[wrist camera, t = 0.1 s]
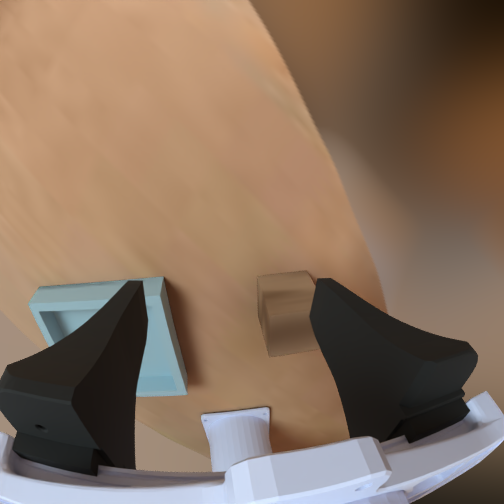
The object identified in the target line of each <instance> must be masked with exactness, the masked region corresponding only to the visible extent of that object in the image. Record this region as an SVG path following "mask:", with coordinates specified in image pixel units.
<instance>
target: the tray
mask: <svg viewBox="0 0 504 504" xmlns="http://www.w3.org/2000/svg"><path fill="white" fill-rule="evenodd" d="M131 280H143V286H144V294H145V301H146V308H147V314H148V331H147V341H146V346H145V351H144V355H143V360H142V365H141V369H140V374H139V379H138V384H137V391H136V397H144V396H175V395H187V372H186V369H185V365H184V361H183V358H182V354H181V350H180V346H179V342H178V338H177V334H176V330H175V326H174V322H173V318H172V314H171V309H170V305H169V301H168V296H167V291H166V287H165V282H164V277H153V278H142V279H131ZM127 281H128V280H119V281H107V282H95V283H83V284H70V285H57V286H43V287H39V288H38V290H37V291H36V292H35V294H34V295H33V297H32V298H31V300H30V301H29V303H28V305H29V307H30V309H31V311H32V314H33V316H34V318H35V320H36V322H37V324H38V326H39V328H40V330H41V332H42V334H43V336H44V338H45V340H46V342H47V343H48V345H49V347H50V346H52V345H54V344H55V343H57V342H58V341H60V340H61V339H63V338H65V337H66V336H68V335H69V334H71V333H72V332H74V331H75V330H76V329H78V328H79V327H80V326H81V325H83V324H84V323H85V322H86V321H88V320H89V319H90V318H91V317H92V316H93V315H94V314H95V313H96V312H97V311H99V310H100V309H101V308H102V307H103V306H104V305H105V304H106V303H107V302H108V301H109V300H110V299H111V298H112V297H113V296H114V295H115V294H116V293H117V291H118V290H119V289H120V288H121V287H122V286H123V285H124V284H125V283H126V282H127Z"/></svg>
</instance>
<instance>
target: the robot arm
mask: <svg viewBox="0 0 504 504" xmlns="http://www.w3.org/2000/svg"><path fill="white" fill-rule="evenodd" d="M309 318H310V322H311V325H312V329H313V332H314V335H315V338H316V340H317V342H318V344H319V347H320V349H321V351H322V353H323V355H324V357H325V360H326V362H327V364H328V366H329V368H330V370H331V373H332V375H333V377H334V380H335V382H336V385H337V388H338V392H339V395H340V398H341V402H342V405H343V409H344V413H345V416H346V421H347V425H348V430H349V434H350V439H347V440H343V441H338V442H334V443H329V444H325V445H320V446H314V447H309V448H303V449H297V450H291V451H284V452H277V453H272V449H271V444H270V440H269V417H270V410H269V408H268V407H263V408H256V409H248V410H240V411H231V412H222V413H210V414H203V415H201V420H202V423H203V426H204V429H205V432H206V435H207V438H208V441H209V444H210V453H211V463H212V472H160V471H144V470H136V466H135V434H134V433H135V404H136V391H137V384H138V379H139V374H140V369H141V365H142V360H143V355H144V351H145V346H146V341H147V331H148V314H147V308H146V301H145V294H144V286H143V280H128V281H127V282H126V283H125V284H124V285H123V286H122V287H121V288H120V289H119V290H118V291H117V293H116V294H115V295H114V296H113V297H112V298H111V299H110V300H109V301H108V302H107V303H106V304H105V305H104V306H103V307H102V308H101V309H100V310H99V311H97V312H96V313H95V314H94V315H93V316H92V317H91V318H90V319H89V320H88V321H86V322H85V323H84V324H83V325H81V326H80V327H79V328H78V329H76V330H75V331H74V332H72V333H71V334H69V335H68V336H66V337H65V338H63V339H61V340H60V341H58V342H57V343H55V344H54V345H52V346H50V347H48V348H46V349H44V350H43V351H41V352H38V353H37V354H34V355H32V356H30V357H28V358H25V359H22V360H20V361H18V362H15V363H12V364H9V365H7V367H6V369H5V371H4V373H3V375H2V377H1V379H0V411H1V412H2V413H3V414H4V416H5V417H6V418H7V420H8V421H9V422H10V423H11V424H12V426H13V427H14V428H15V429H16V430H17V434H16V437H15V438H13V437H12V436H10V435H9V434H6V433H4V432H1V431H0V504H409V503H411V502H413V501H415V500H417V499H419V498H421V497H423V496H425V495H427V494H429V493H430V492H432V491H434V490H436V489H437V488H439V487H441V486H443V485H444V484H446V483H448V482H449V481H451V480H453V479H454V478H456V477H457V476H459V475H461V474H462V473H464V472H465V471H467V470H468V469H470V468H472V467H473V466H475V465H476V464H478V463H479V462H480V461H482V460H483V459H484V458H485V457H486V456H487V455H488V454H490V453H491V452H492V451H493V450H494V449H495V448H496V447H497V446H498V445H499V444H500V443H501V442H502V441H503V440H504V415H503V413H502V412H501V410H500V409H499V408H498V406H497V405H496V403H495V402H494V401H493V399H492V398H491V396H490V395H489V394H488V392H487V391H484V392H482V393H481V394H479V395H477V396H475V397H473V398H471V399H469V400H468V401H467V402H466V403H465V402H464V400H463V399H462V397H464V395H465V393H464V391H463V390H462V386H463V385H464V384H465V382H466V381H467V379H468V378H469V376H470V375H471V373H472V372H473V370H474V368H475V367H476V364H477V361H478V355H477V353H476V352H475V350H474V349H473V348H472V347H471V346H470V345H469V343H468V342H465V341H460V340H455V339H450V338H446V337H442V336H439V335H435V334H432V333H429V332H425V331H423V330H420V329H418V328H415V327H413V326H410V325H408V324H406V323H403V322H401V321H399V320H397V319H395V318H393V317H391V316H389V315H388V314H386V313H384V312H382V311H381V310H379V309H377V308H376V307H374V306H372V305H371V304H369V303H368V302H366V301H365V300H363V299H362V298H360V297H359V296H357V295H356V294H354V293H353V292H351V291H350V290H348V289H347V288H346V287H344V286H343V285H341V284H340V283H338V282H336V281H335V280H333V279H331V278H318V279H317V283H316V287H315V292H314V297H313V301H312V306H311V310H310V315H309Z"/></svg>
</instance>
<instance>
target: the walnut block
mask: <svg viewBox="0 0 504 504" xmlns="http://www.w3.org/2000/svg"><path fill="white" fill-rule="evenodd" d="M315 287H316V286H315V284H314V283H313V281H312V279H311V278H310V276H309V274H308V272H307V271H298V272H289V273H280V274H271V275H262V276H257V288H258V317H259V321H260V324H261V328H262V332H263V336H264V340H265V343H266V347H267V351H268V355H269V357H276V356H282V355H289V354H295V353H301V352H307V351H313V350H318V349H320V347H319V344H318V342H317V340H316V338H315V335H314V332H313V329H312V325H311V322H310V318H309V315H310V310H311V306H312V301H313V297H314V292H315Z"/></svg>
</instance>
